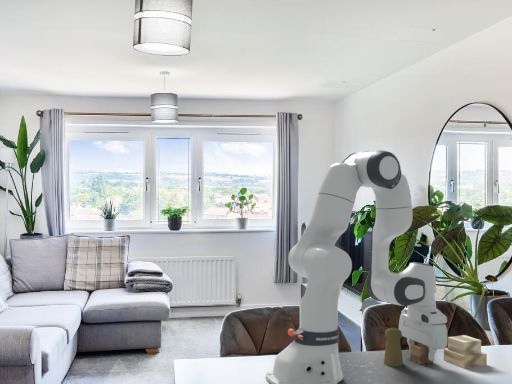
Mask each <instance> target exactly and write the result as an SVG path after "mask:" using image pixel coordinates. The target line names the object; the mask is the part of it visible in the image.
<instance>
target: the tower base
mask: <svg viewBox="0 0 512 384" xmlns="http://www.w3.org/2000/svg"><path fill="white" fill-rule="evenodd" d="M487 356H488V354H487V353H486V352H483V351H481V353H478V354H471V355H461V354H458V353H455V352H453V351H450V350H448V348H445V349H443V361H445V362H448V363H449V364H452V365H455V366H457V367H459V368H462V369H469V368H477V367H482V366H483V367H484V366H487V361H488V360H487V358H488V357H487Z"/></svg>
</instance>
